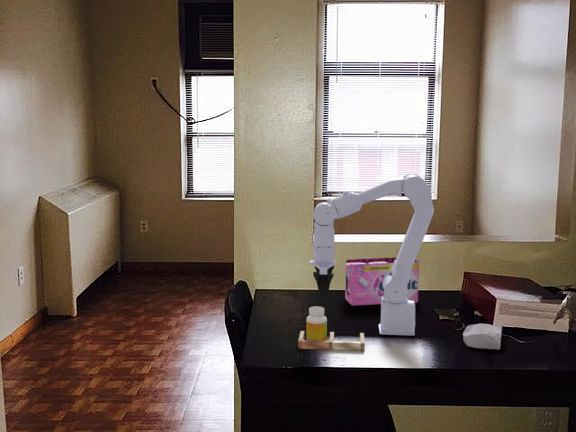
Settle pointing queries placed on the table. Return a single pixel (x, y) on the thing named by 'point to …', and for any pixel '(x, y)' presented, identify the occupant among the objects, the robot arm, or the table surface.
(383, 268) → the gum box
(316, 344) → the e-shaped wooden frame
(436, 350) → the table surface
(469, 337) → the stone block
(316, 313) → the supplement bottle
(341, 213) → the robot arm
